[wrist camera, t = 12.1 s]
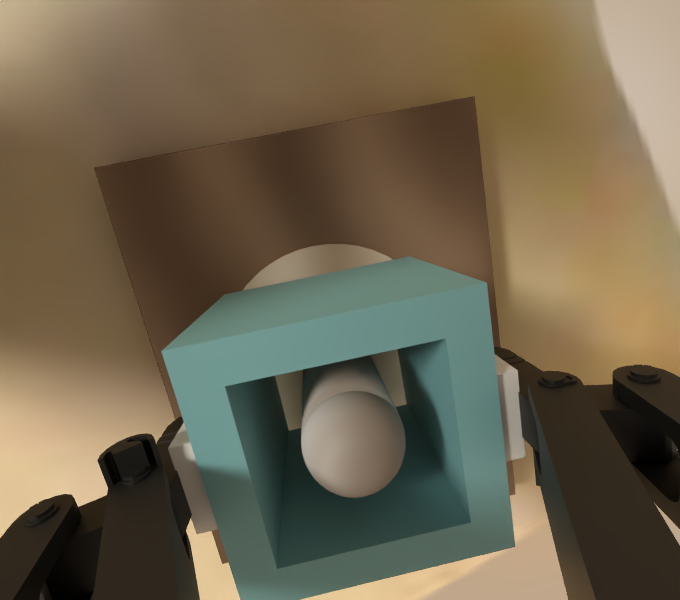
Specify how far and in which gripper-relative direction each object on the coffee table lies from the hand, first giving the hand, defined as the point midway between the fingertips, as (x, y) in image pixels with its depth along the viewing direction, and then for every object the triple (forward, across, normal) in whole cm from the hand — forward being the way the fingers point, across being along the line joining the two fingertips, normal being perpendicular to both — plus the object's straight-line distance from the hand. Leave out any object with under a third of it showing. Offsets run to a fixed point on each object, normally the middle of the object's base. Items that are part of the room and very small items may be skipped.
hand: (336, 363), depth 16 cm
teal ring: (0, 0, 0) cm, 0 cm away
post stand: (+3, 0, 0) cm, 3 cm away
